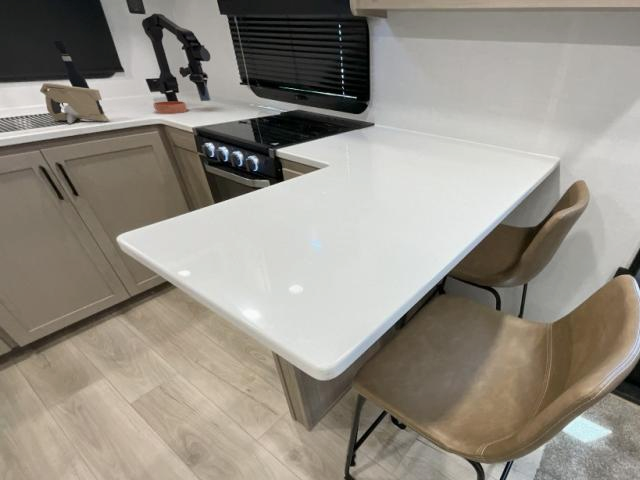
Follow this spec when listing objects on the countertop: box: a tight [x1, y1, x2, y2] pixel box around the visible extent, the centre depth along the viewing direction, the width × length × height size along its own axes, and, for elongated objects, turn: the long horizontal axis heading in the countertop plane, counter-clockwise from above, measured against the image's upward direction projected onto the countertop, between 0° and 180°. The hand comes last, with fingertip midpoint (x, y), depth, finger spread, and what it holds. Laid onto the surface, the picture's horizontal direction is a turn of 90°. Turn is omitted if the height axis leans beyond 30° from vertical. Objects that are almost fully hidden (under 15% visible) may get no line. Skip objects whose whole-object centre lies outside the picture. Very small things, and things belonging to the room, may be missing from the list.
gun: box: [39, 82, 110, 123], centre depth 151 cm, size 24×3×15 cm, turn 92°
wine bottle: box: [52, 40, 91, 89], centre depth 163 cm, size 6×6×30 cm
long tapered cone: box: [63, 104, 79, 125], centre depth 155 cm, size 6×6×19 cm
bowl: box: [152, 100, 188, 115], centre depth 179 cm, size 15×15×4 cm
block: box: [195, 83, 212, 102], centre depth 183 cm, size 4×4×8 cm
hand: (204, 95), depth 183 cm, fingers closed on block, 4 cm apart
